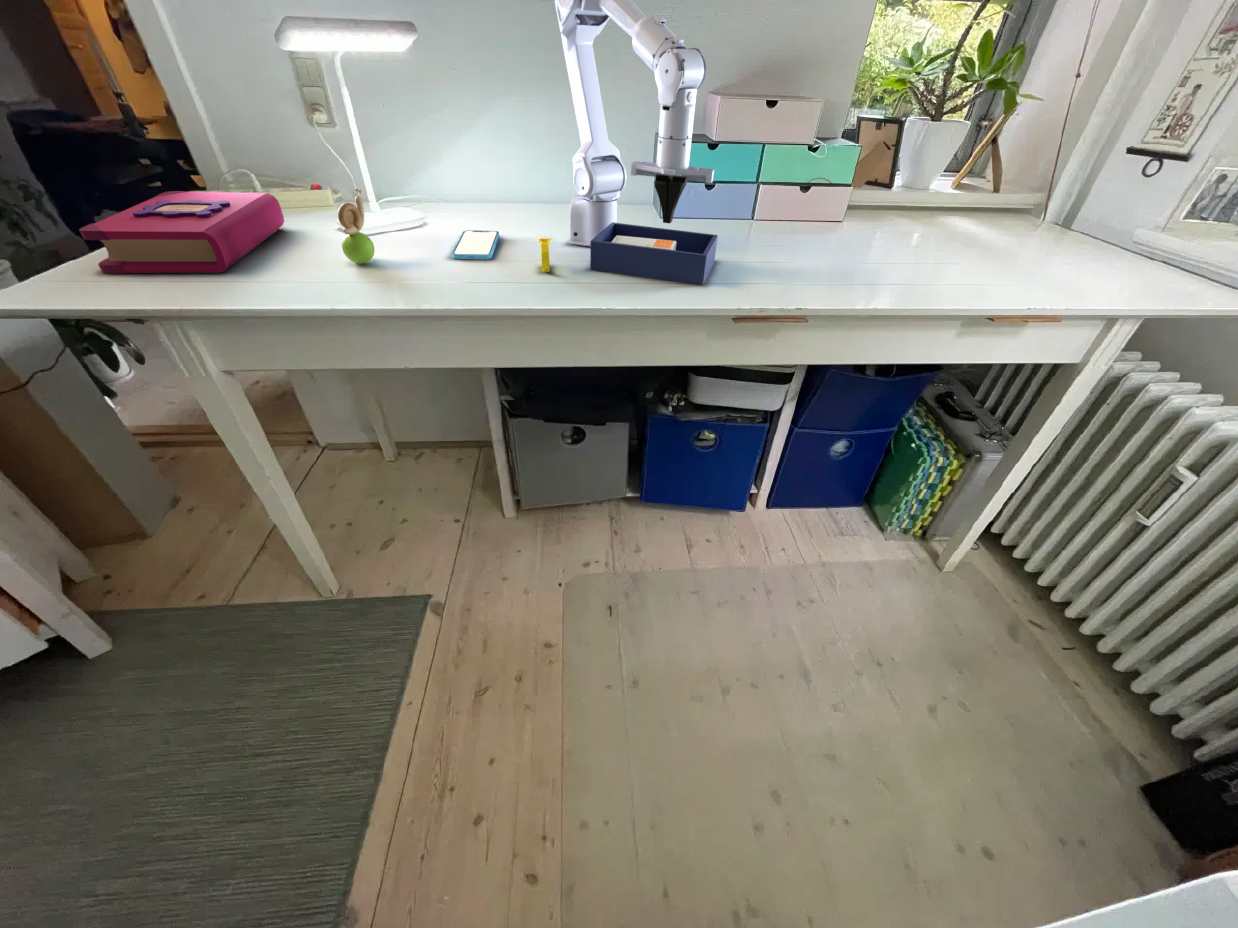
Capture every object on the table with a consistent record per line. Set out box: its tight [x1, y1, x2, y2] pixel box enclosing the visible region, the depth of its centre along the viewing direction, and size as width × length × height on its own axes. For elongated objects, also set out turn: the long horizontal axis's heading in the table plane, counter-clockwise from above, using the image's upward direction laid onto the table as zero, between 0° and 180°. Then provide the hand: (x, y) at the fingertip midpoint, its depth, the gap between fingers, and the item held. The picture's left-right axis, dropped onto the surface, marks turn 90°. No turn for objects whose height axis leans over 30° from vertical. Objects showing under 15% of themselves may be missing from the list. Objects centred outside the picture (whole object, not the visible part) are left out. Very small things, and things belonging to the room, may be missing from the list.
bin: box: [589, 222, 719, 286], centre depth 105 cm, size 22×14×5 cm, turn 74°
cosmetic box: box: [612, 235, 676, 250], centre depth 105 cm, size 6×4×12 cm
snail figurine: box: [337, 188, 375, 264], centre depth 99 cm, size 5×6×12 cm
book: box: [78, 190, 285, 275], centre depth 103 cm, size 21×28×8 cm
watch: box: [536, 234, 553, 273], centre depth 101 cm, size 6×3×6 cm, turn 6°
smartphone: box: [451, 229, 500, 260], centre depth 112 cm, size 8×1×15 cm
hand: (667, 221), depth 101 cm, fingers closed
